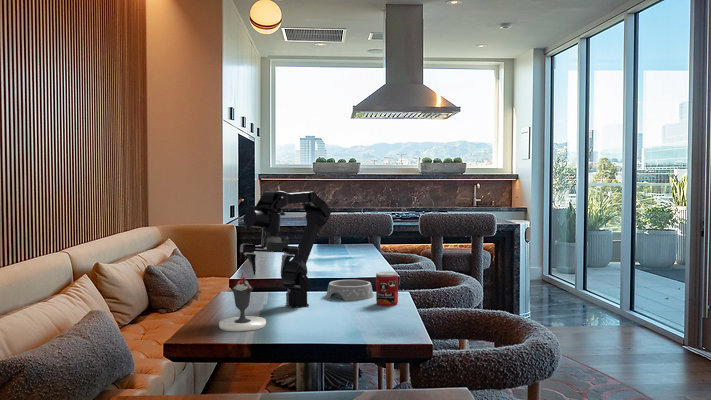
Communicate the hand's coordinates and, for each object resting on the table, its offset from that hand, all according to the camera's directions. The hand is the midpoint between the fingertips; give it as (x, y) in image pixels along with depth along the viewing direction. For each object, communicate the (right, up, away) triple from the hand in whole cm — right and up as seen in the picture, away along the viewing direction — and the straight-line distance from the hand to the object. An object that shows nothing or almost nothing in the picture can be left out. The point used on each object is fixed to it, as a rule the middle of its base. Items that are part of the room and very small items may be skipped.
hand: (268, 275), depth 189 cm
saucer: (-5, -13, -15) cm, 21 cm away
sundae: (-5, -12, -15) cm, 20 cm away
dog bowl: (+27, -12, +29) cm, 41 cm away
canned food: (+40, -12, +14) cm, 44 cm away
